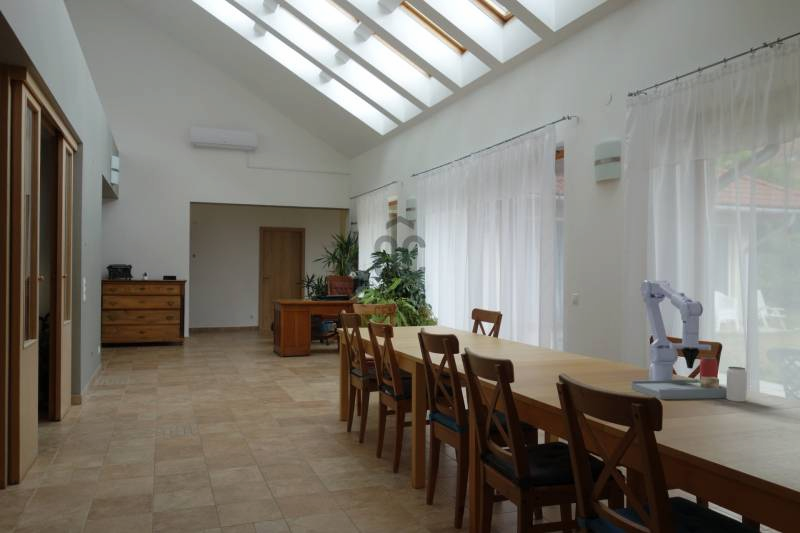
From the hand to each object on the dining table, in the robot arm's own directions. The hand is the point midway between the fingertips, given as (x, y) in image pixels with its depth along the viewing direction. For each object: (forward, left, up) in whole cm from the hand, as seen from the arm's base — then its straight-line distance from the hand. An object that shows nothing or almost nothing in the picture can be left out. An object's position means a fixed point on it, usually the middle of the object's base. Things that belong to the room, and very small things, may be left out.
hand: (689, 368), depth 239 cm
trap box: (-1, -4, -10) cm, 11 cm away
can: (+13, +10, -10) cm, 19 cm away
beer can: (-13, +18, -10) cm, 25 cm away
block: (+3, +7, -7) cm, 10 cm away
